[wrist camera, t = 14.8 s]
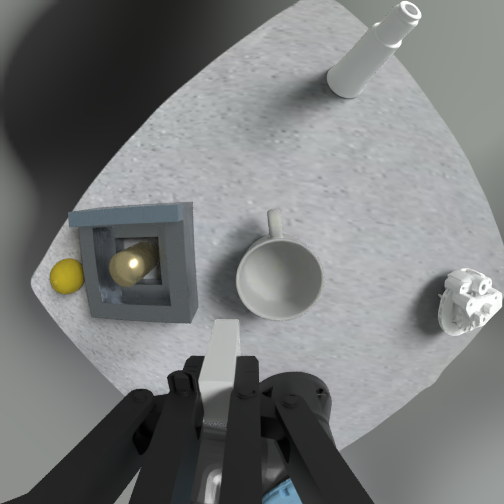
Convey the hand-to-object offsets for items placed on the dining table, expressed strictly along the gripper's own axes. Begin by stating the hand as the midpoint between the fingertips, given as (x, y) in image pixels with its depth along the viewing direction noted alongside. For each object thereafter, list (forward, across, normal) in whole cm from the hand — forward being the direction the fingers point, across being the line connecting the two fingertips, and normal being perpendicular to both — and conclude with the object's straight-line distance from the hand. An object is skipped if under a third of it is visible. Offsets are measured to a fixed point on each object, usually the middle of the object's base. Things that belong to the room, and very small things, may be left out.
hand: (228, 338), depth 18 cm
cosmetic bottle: (+25, -16, -27) cm, 40 cm away
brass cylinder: (+24, +15, 0) cm, 29 cm away
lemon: (+25, +28, +2) cm, 37 cm away
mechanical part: (+25, -38, +8) cm, 46 cm away
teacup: (+25, -5, 0) cm, 25 cm away
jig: (+24, +15, 0) cm, 29 cm away
